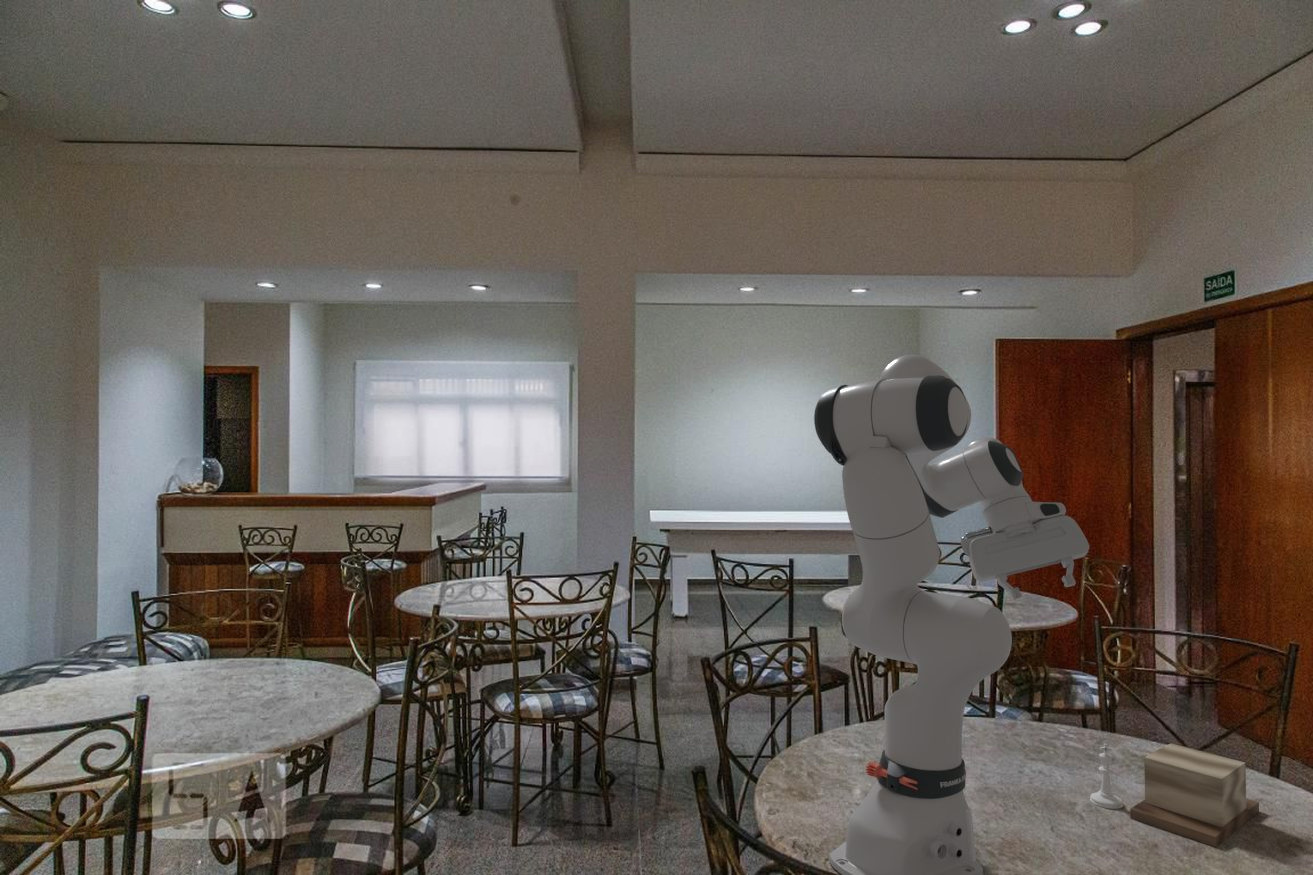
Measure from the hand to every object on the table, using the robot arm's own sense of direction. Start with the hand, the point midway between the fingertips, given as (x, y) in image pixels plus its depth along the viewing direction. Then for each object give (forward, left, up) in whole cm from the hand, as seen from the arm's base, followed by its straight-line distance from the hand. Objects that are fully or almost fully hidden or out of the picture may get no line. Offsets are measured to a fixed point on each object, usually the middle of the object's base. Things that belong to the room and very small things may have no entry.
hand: (1043, 592), depth 139 cm
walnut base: (+12, -19, -35) cm, 42 cm away
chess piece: (+5, -8, -36) cm, 37 cm away
